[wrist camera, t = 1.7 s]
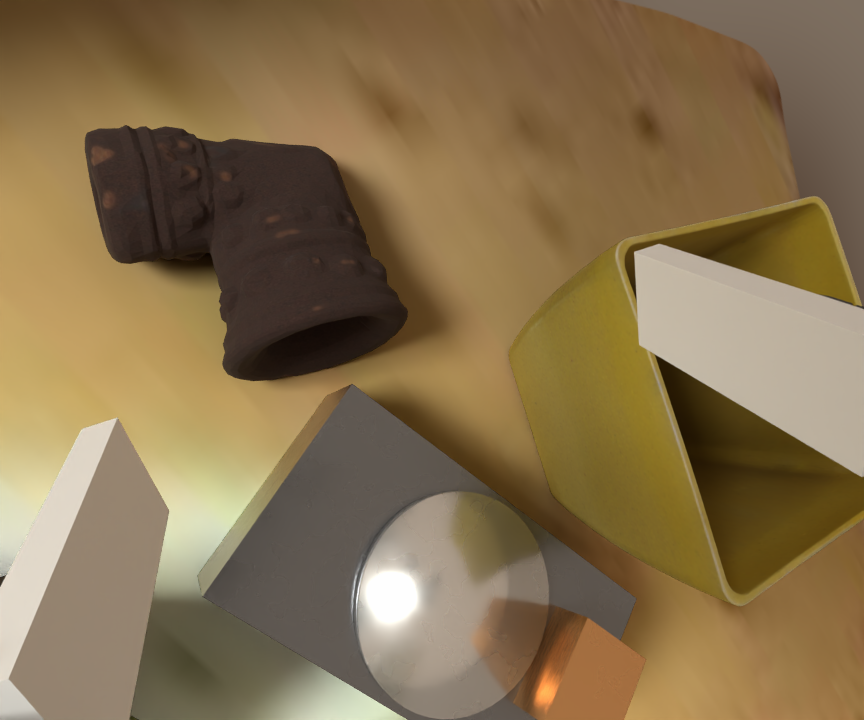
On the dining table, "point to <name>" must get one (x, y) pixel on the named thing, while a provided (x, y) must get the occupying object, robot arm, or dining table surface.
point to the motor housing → (421, 580)
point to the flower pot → (684, 417)
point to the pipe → (250, 242)
